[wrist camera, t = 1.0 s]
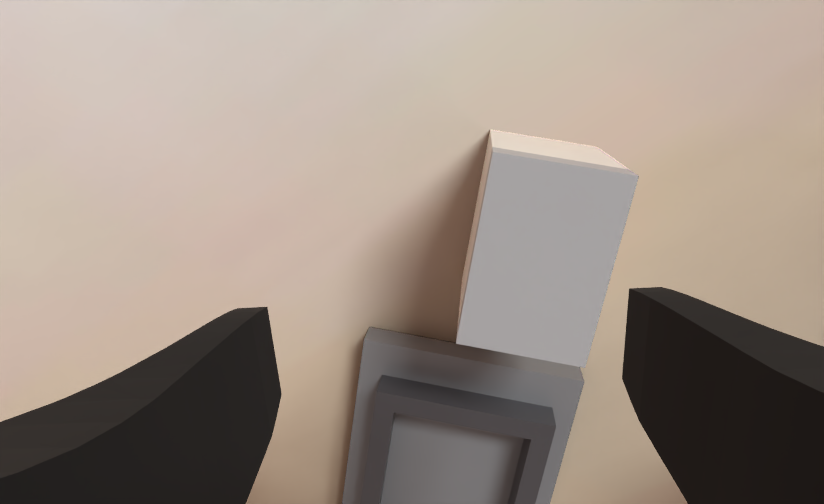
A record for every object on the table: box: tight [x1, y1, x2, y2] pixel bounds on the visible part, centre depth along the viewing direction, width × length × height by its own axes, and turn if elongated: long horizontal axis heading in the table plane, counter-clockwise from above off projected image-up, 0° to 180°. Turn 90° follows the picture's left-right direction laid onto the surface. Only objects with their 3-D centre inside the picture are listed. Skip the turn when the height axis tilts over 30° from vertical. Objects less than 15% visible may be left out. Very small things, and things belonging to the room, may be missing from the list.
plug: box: [456, 129, 639, 368], centre depth 19 cm, size 4×6×6 cm, turn 171°
